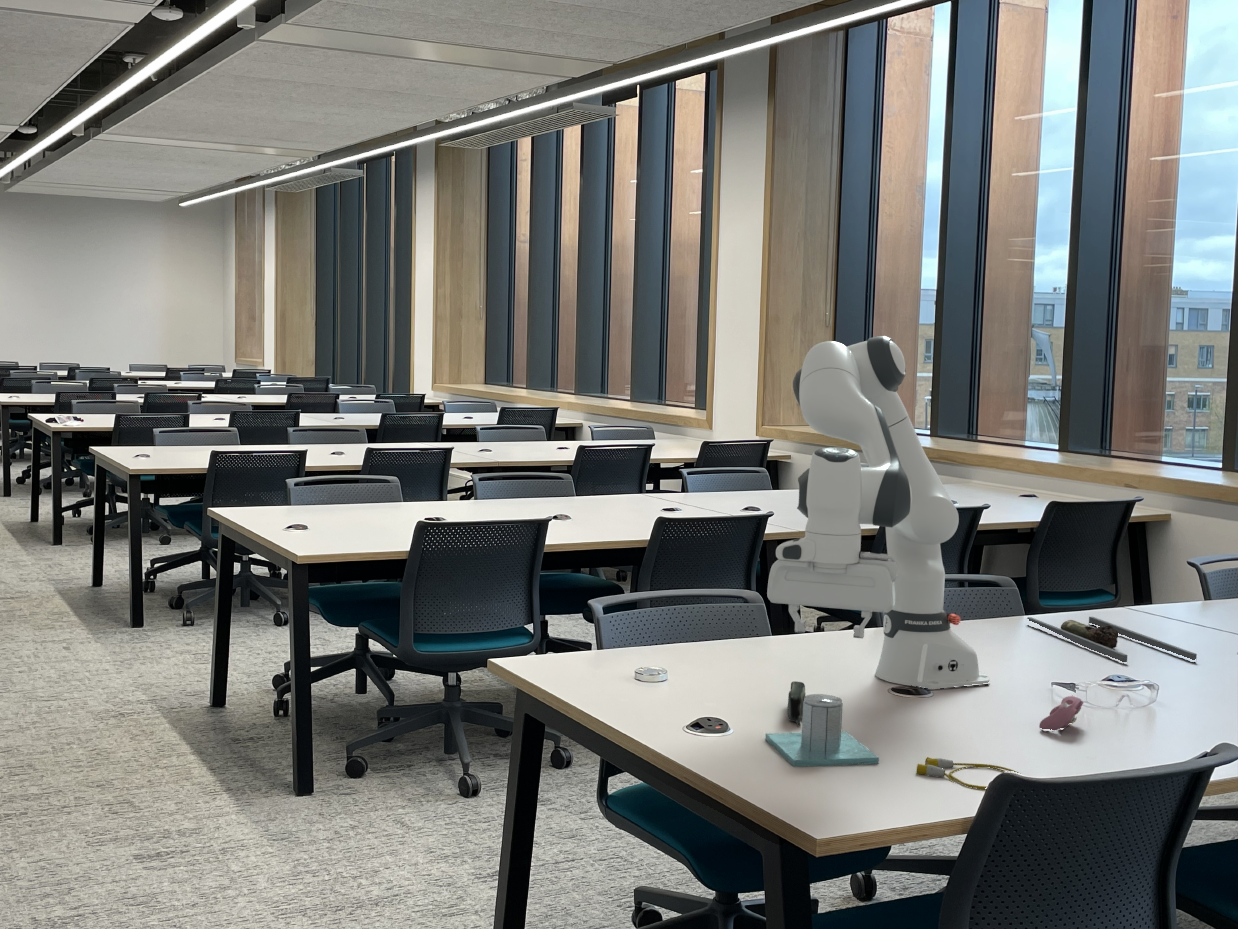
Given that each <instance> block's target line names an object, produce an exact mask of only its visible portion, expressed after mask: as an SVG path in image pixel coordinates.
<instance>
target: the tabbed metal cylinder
mask: <svg viewBox="0 0 1238 929" xmlns="http://www.w3.org/2000/svg"><path fill="white" fill-rule="evenodd" d="M843 707H844V706H843V700H842V698H840V697H838V696H836V695H831V694H824V693H823V694H822V693H814V694H813V693H812V694H807V695H805V697H804V702H803V717H802V719H801V733H802V740H801V745H802V746H804V747H806V748H808V749H811V750H819V751H832V750H838V749H839V748H840V746H841V731H842V728H843V727H842V725H843V724H842V723H843Z"/></svg>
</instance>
